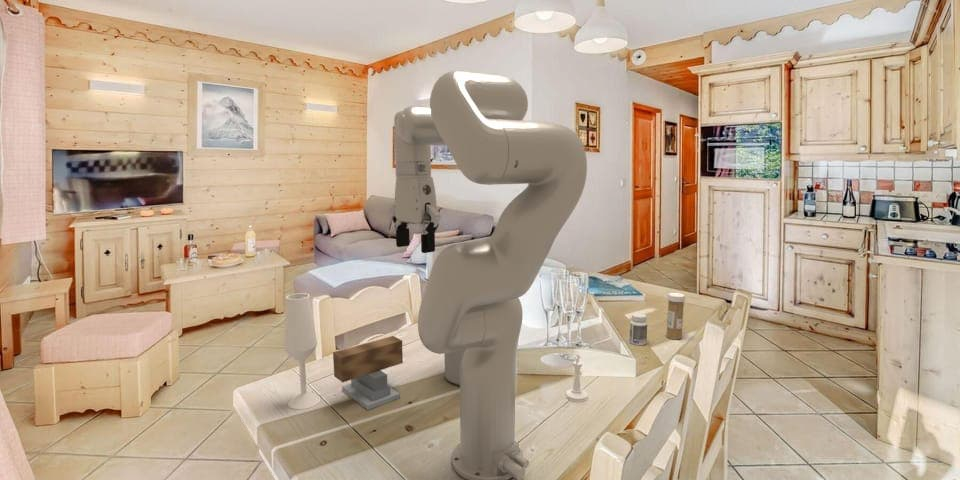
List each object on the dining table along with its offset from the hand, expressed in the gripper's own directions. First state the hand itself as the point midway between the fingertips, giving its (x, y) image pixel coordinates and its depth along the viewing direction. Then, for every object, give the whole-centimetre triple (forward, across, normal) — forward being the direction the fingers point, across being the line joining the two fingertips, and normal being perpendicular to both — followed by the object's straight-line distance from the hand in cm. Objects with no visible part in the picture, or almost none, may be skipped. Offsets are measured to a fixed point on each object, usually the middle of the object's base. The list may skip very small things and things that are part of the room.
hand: (415, 249), depth 105 cm
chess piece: (+34, -26, -25) cm, 49 cm away
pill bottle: (+34, -18, -65) cm, 75 cm away
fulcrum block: (+33, +6, +9) cm, 35 cm away
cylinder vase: (+34, -2, -14) cm, 36 cm away
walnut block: (+27, +6, +9) cm, 29 cm away
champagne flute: (+34, +13, +22) cm, 42 cm away
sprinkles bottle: (+34, -23, -77) cm, 87 cm away
